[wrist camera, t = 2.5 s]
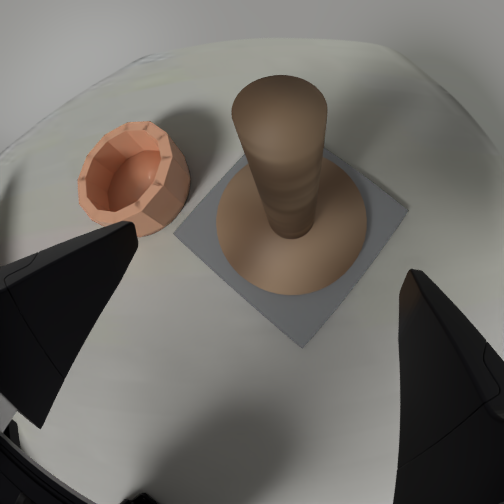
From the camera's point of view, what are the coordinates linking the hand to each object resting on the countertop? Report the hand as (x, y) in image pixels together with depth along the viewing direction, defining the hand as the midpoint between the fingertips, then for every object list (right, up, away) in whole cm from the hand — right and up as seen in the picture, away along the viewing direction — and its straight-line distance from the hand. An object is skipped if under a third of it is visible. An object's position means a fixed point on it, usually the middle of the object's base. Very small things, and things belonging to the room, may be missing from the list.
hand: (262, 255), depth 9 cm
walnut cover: (+2, +2, +11) cm, 12 cm away
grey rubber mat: (+2, +2, +12) cm, 12 cm away
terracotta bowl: (-9, +5, +14) cm, 17 cm away
